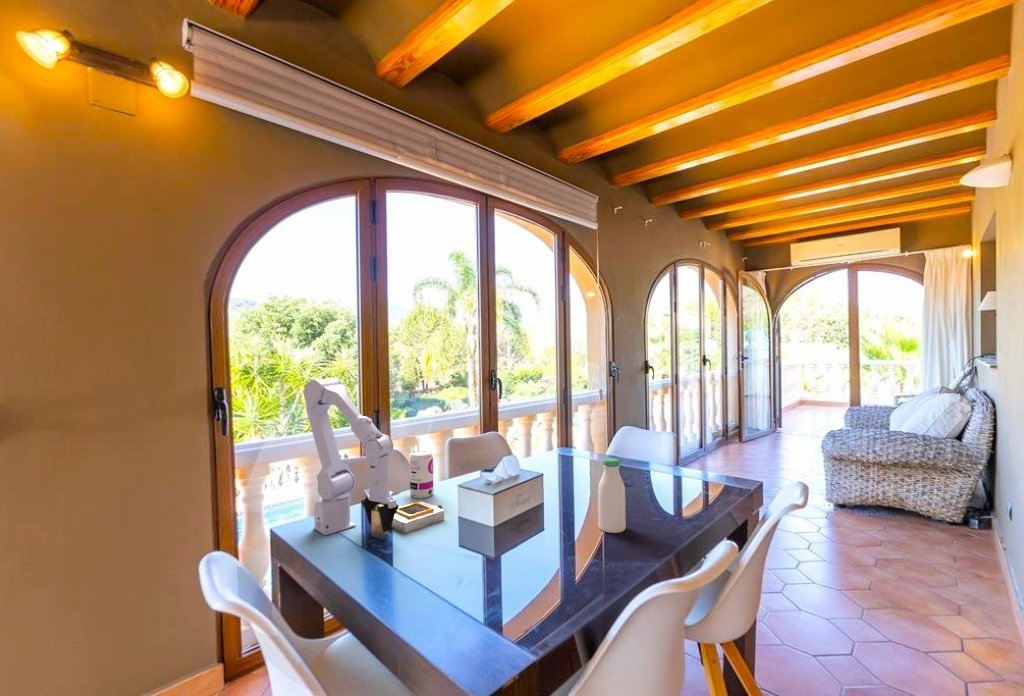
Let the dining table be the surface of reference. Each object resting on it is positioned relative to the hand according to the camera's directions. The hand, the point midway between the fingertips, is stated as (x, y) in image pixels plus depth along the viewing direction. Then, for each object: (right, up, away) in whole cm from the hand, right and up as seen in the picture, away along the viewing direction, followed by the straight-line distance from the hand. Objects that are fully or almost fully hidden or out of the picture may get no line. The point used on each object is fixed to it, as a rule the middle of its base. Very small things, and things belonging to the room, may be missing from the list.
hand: (379, 527), depth 132 cm
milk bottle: (+66, -1, +2) cm, 67 cm away
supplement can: (+5, -2, +34) cm, 34 cm away
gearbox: (+9, -2, +10) cm, 14 cm away
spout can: (0, -2, 0) cm, 2 cm away
